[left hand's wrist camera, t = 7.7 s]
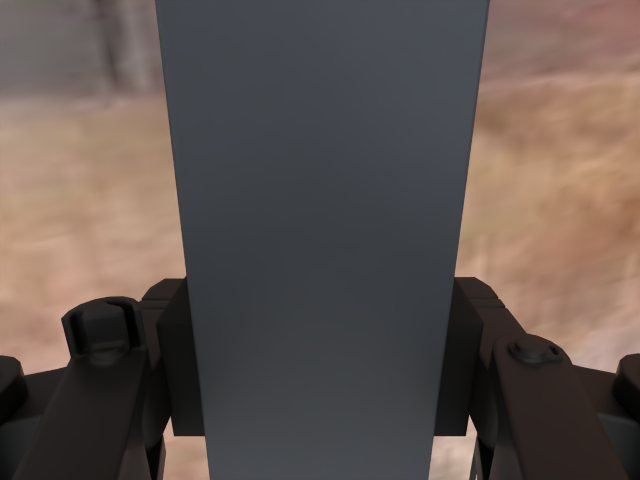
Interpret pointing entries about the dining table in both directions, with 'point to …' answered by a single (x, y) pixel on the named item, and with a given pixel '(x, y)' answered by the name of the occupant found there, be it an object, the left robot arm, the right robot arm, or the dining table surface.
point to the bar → (320, 223)
